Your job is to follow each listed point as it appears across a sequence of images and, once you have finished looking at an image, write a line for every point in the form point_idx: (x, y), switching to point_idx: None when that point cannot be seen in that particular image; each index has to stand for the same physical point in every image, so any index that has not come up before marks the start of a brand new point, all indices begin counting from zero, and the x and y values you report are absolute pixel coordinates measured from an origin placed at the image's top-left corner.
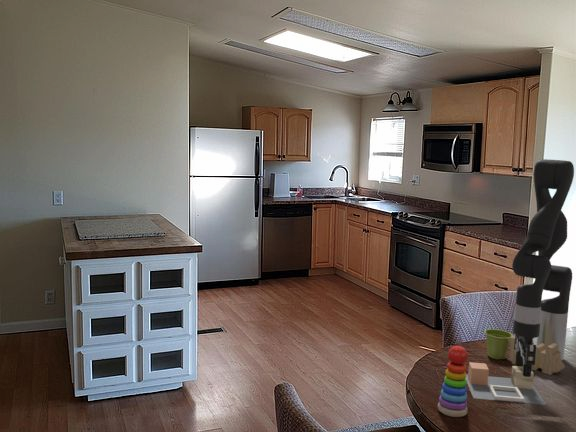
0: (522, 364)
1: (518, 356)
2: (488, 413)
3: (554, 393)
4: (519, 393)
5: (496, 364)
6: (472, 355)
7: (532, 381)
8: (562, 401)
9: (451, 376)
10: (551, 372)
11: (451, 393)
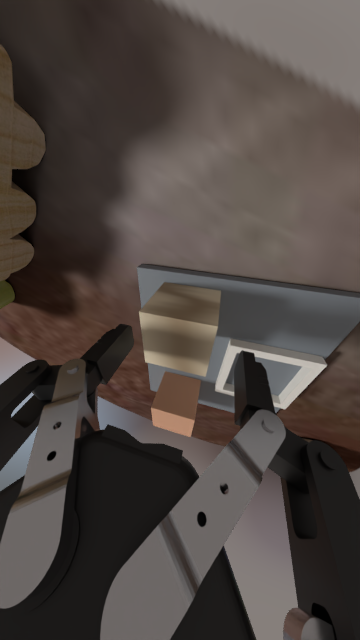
0: (126, 332)
1: (108, 372)
2: (330, 419)
3: (230, 186)
4: (280, 359)
5: (47, 301)
6: (30, 329)
7: (219, 306)
8: (331, 178)
9: None
10: (19, 111)
11: None
